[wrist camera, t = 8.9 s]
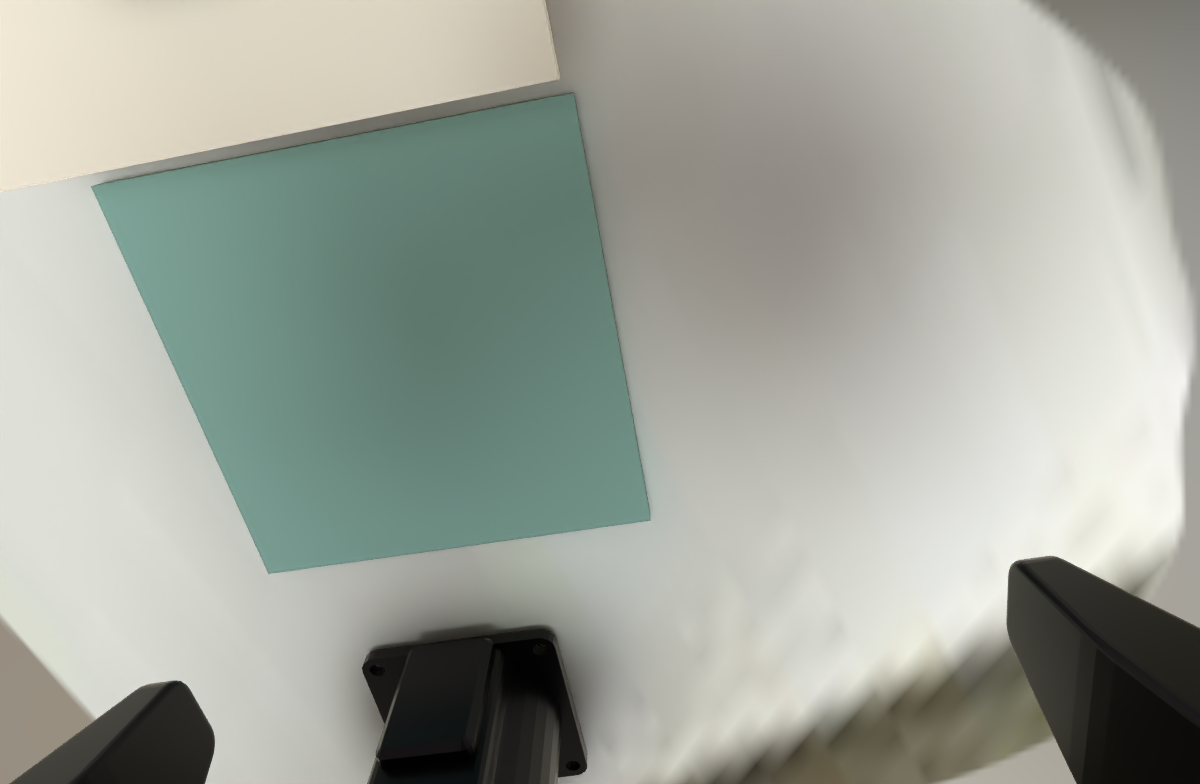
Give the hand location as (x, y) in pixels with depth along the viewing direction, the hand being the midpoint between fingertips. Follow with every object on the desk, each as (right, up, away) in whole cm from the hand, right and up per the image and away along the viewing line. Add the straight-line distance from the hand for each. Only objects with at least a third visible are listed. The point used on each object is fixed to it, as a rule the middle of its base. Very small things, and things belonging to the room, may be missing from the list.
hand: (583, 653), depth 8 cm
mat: (-5, +4, +13) cm, 14 cm away
